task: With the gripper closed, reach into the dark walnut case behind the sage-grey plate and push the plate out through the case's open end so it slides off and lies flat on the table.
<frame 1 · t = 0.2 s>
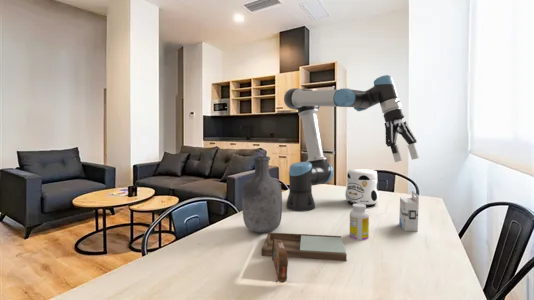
hand: (407, 160, 111), 28 cm above the table, tool tilted 20°, fingers open, 13 cm apart
milk container: (361, 204, 150), on the table
walnut case: (303, 251, 91), on the table
supplement bottle: (358, 239, 101), on the table
vase: (262, 230, 111), on the table
ink box: (408, 228, 112), on the table
tin: (279, 273, 78), on the table
cover plate: (321, 249, 90), point 1 cm above the table, touching walnut case
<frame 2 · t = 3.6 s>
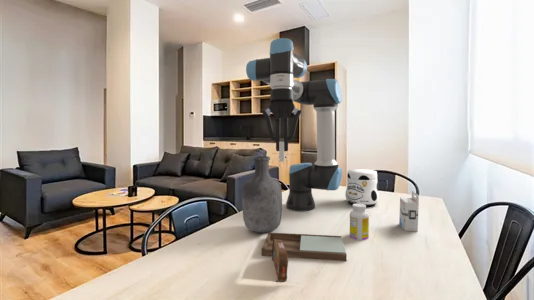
hand: (282, 161, 90), 30 cm above the table, tool pointing down, fingers closed
nothing on the table moved.
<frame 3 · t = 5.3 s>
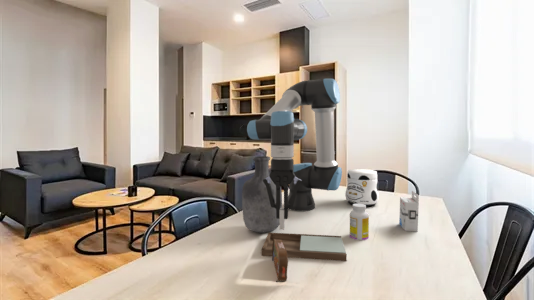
hand: (282, 228, 92), 8 cm above the table, tool pointing down, fingers closed
nothing on the table moved.
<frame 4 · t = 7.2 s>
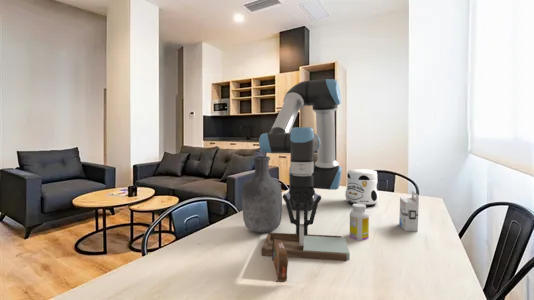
hand: (301, 243, 91), 2 cm above the table, tool pointing down, fingers closed
cover plate: (325, 249, 90), point 1 cm above the table
everything else where it was.
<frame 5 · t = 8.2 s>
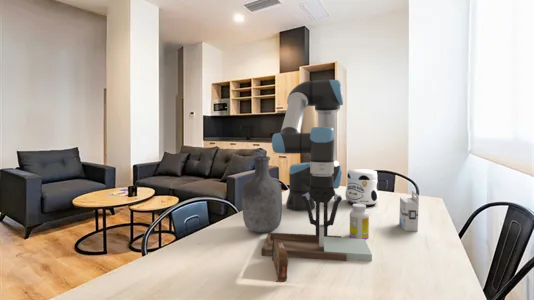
hand: (321, 245, 90), 2 cm above the table, tool pointing down, fingers closed
cover plate: (345, 250, 89), point 1 cm above the table, touching gripper
everything else where it was.
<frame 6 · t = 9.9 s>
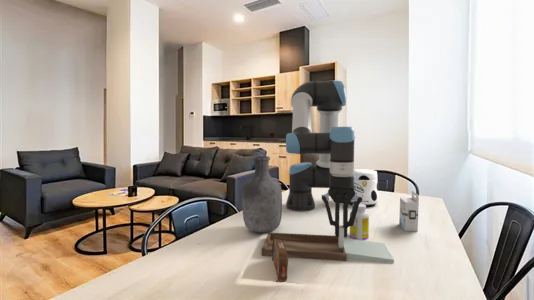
hand: (340, 246, 89), 2 cm above the table, tool pointing down, fingers closed
cover plate: (365, 253, 88), on the table, touching gripper, walnut case
everything else where it was.
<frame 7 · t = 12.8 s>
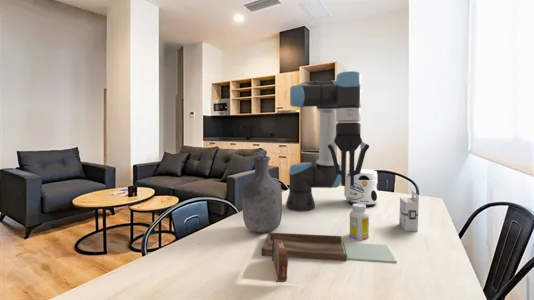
hand: (347, 195, 88), 19 cm above the table, tool pointing down, fingers closed
cover plate: (368, 257, 88), on the table
everything else where it was.
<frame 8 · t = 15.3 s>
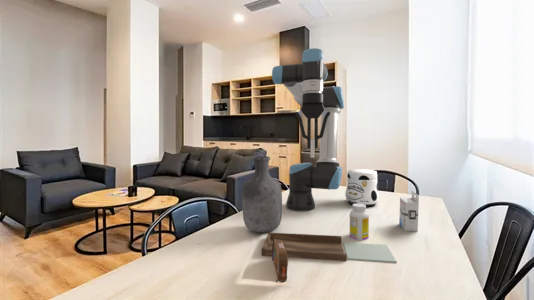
hand: (312, 157, 102), 30 cm above the table, tool pointing down, fingers closed
nothing on the table moved.
at the end: cover plate inside the target area (6.9 cm from its centre), on the table; cover plate tilted 0°; cover plate touching table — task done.
